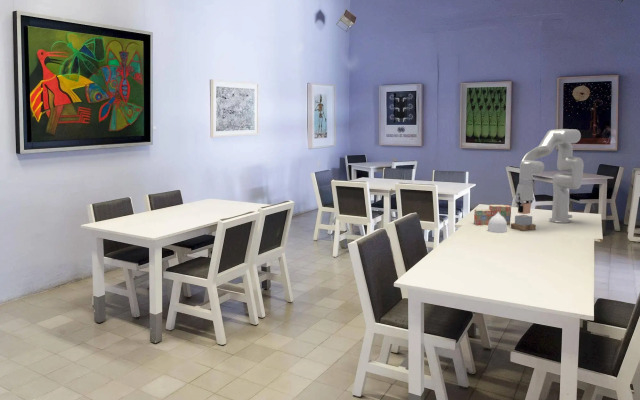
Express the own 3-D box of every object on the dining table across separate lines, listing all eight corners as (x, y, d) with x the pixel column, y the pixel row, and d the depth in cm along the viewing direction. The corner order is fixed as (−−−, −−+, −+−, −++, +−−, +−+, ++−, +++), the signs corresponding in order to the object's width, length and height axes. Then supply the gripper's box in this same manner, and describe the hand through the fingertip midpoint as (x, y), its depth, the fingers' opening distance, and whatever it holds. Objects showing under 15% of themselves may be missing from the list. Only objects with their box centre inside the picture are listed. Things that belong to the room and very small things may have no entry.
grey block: (523, 222, 340) (523, 214, 339) (531, 224, 333) (532, 216, 333) (514, 223, 336) (515, 215, 336) (523, 225, 330) (524, 217, 329)
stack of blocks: (475, 225, 348) (476, 205, 346) (473, 223, 354) (474, 204, 352) (510, 225, 346) (511, 206, 344) (507, 223, 352) (508, 204, 351)
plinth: (522, 226, 342) (522, 222, 342) (535, 229, 333) (535, 224, 333) (510, 228, 338) (511, 223, 337) (523, 231, 329) (523, 226, 328)
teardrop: (483, 230, 331) (484, 211, 329) (494, 228, 338) (495, 209, 336) (499, 233, 322) (500, 213, 321) (510, 231, 329) (511, 211, 327)
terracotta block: (523, 212, 337) (524, 202, 336) (530, 213, 333) (530, 203, 332) (517, 212, 335) (518, 203, 334) (524, 214, 330) (524, 204, 330)
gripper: (531, 180, 338) (529, 209, 341) (510, 182, 331) (508, 211, 333) (540, 182, 331) (538, 211, 334) (520, 183, 324) (518, 213, 327)
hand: (523, 211), depth 334 cm, fingers closed on terracotta block, 5 cm apart
